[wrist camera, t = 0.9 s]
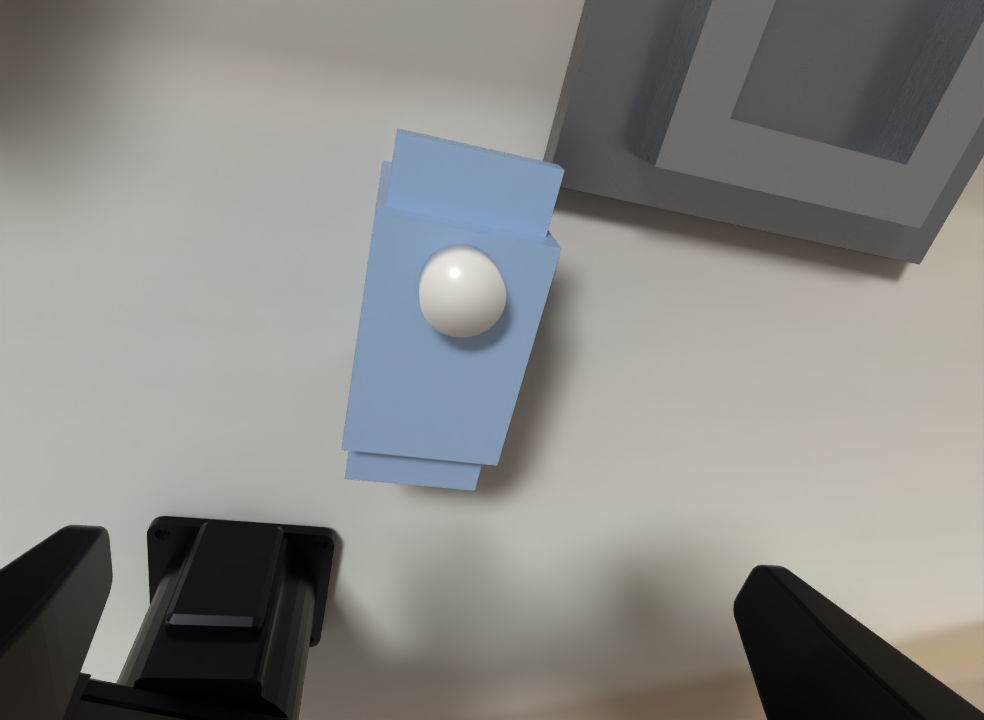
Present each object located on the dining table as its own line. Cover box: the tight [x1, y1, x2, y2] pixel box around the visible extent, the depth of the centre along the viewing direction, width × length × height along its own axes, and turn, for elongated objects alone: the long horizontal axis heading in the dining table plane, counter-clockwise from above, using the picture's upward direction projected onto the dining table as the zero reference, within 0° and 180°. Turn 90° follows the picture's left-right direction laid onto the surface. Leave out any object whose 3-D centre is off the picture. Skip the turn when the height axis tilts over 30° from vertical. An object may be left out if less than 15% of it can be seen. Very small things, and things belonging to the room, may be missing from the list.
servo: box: [341, 128, 565, 491], centre depth 16 cm, size 9×4×6 cm, turn 167°
